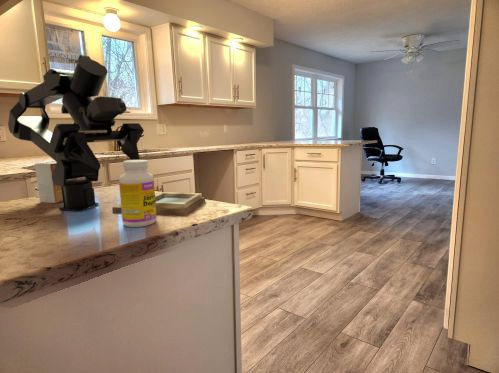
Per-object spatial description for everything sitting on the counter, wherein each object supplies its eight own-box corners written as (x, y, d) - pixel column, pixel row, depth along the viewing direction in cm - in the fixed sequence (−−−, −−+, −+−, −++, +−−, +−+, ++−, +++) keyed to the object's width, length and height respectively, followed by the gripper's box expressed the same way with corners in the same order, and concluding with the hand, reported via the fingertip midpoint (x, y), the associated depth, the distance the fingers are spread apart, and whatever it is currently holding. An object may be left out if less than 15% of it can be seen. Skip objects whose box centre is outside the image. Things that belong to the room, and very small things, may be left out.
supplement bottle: (146, 229, 61) (141, 162, 59) (116, 227, 63) (109, 162, 60) (162, 219, 68) (158, 159, 65) (134, 217, 69) (129, 158, 67)
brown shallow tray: (112, 212, 74) (111, 202, 73) (142, 199, 86) (141, 190, 86) (184, 215, 70) (184, 205, 70) (205, 201, 82) (204, 192, 82)
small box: (55, 203, 83) (49, 163, 81) (39, 202, 85) (33, 163, 83) (80, 197, 91) (75, 160, 89) (65, 196, 92) (60, 160, 90)
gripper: (48, 79, 58) (88, 140, 54) (135, 87, 73) (171, 136, 69) (35, 123, 64) (70, 182, 60) (118, 123, 79) (150, 169, 75)
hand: (120, 165), depth 66 cm, fingers open, 9 cm apart
